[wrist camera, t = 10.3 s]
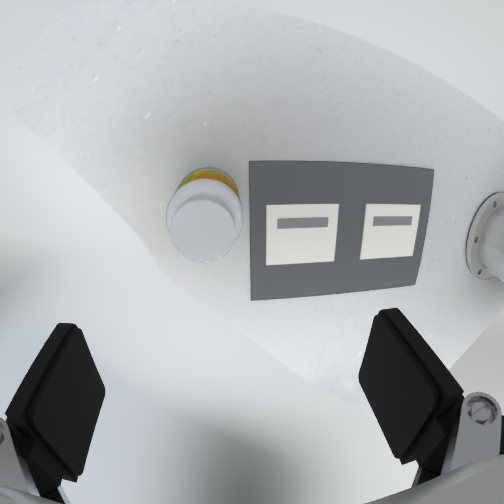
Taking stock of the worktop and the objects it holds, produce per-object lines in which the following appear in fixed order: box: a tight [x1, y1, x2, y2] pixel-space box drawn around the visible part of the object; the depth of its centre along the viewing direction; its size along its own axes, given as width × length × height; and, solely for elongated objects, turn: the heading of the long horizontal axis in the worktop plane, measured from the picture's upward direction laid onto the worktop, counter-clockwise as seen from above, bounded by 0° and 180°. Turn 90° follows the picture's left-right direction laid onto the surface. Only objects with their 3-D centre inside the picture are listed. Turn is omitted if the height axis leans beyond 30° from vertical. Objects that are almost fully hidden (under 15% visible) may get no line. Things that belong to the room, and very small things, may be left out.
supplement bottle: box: [166, 168, 243, 262], centre depth 22 cm, size 5×5×10 cm
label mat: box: [249, 161, 434, 301], centre depth 30 cm, size 20×14×1 cm
